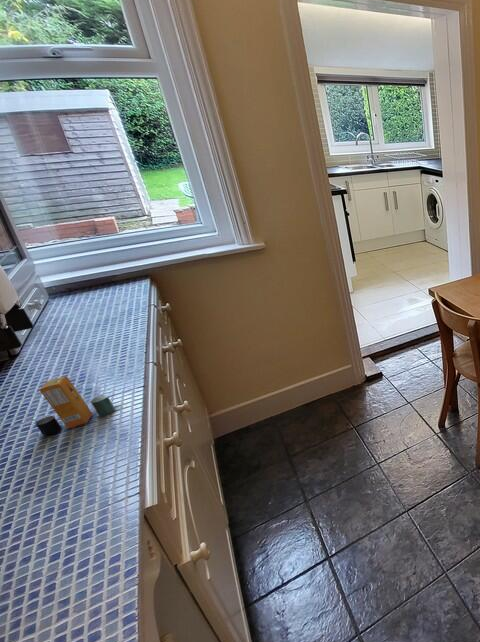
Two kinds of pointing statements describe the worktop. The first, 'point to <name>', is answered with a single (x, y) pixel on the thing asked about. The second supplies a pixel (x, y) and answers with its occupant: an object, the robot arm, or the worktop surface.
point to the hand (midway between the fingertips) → (15, 339)
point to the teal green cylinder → (102, 405)
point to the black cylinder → (48, 426)
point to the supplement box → (66, 401)
